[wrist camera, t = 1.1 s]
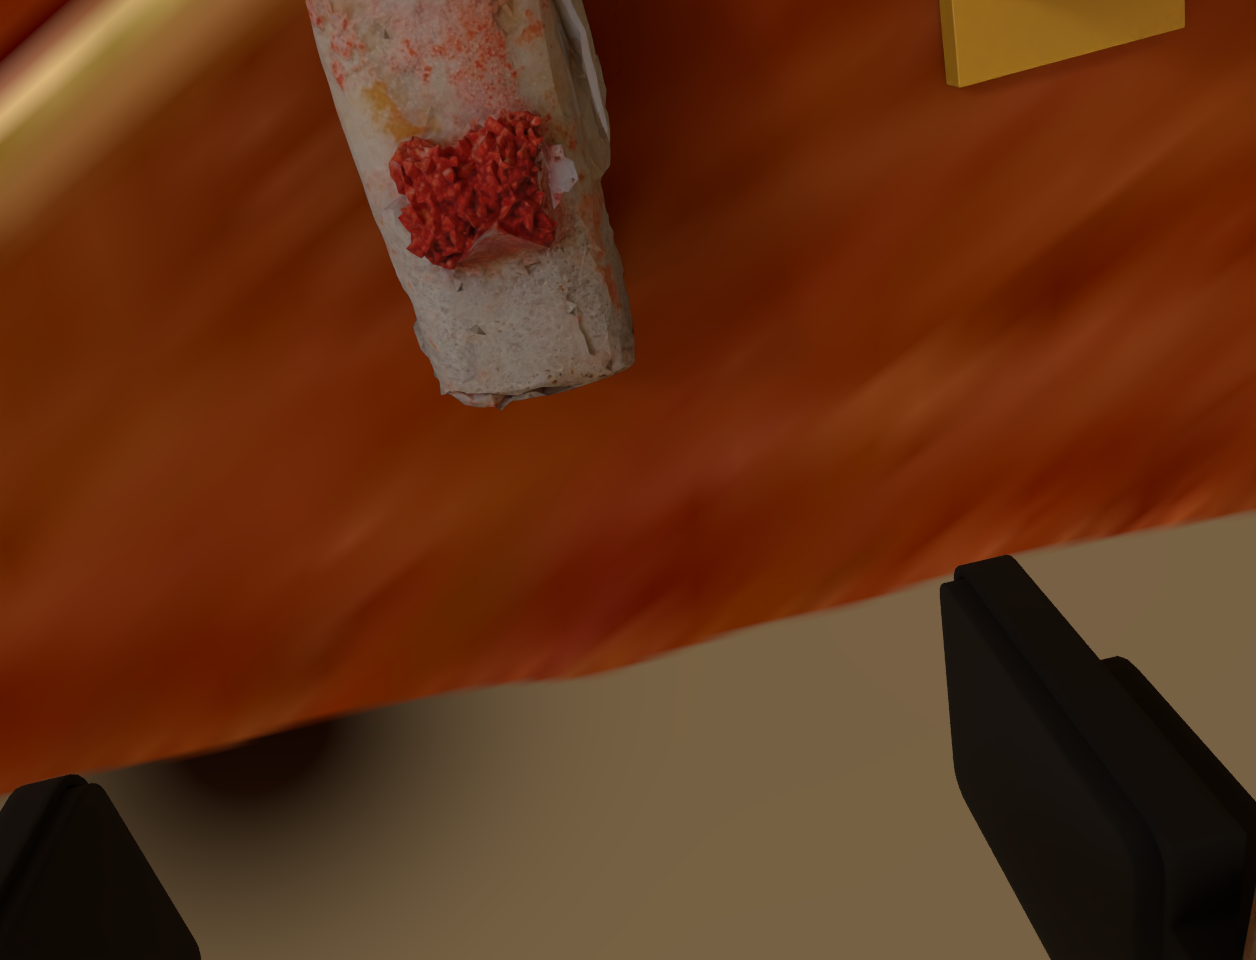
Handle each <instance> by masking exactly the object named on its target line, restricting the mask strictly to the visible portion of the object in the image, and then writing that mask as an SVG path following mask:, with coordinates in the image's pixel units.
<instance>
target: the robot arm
mask: <svg viewBox="0 0 1256 960" xmlns="http://www.w3.org/2000/svg"><path fill="white" fill-rule="evenodd" d="M940 603H941V615H942V628H943V639H944V651H945V663H946V676H947V688H948V700H949V713H950V724H951V737H952V749H953V761H954V769H955V774H956V778H957V782H958V785H959V788H960V791H961V793H962V796H963V798H964V800H965V802H966V804H967V806H968V807H969V809H970V811H971V813H972V815H973V817H974V819H975V820H976V822H977V824H978V826H979V828H980V830H981V831H982V833H983V835H984V837H985V839H986V841H987V842H988V844H989V846H990V848H991V850H992V852H993V854H994V856H995V857H996V859H997V861H998V863H999V865H1000V867H1001V868H1002V870H1003V872H1004V874H1005V876H1006V878H1007V880H1008V881H1009V883H1010V885H1011V887H1012V889H1013V891H1014V892H1015V894H1016V896H1017V898H1018V900H1019V902H1020V904H1021V905H1022V907H1023V909H1024V911H1025V913H1026V914H1027V916H1028V918H1029V920H1030V922H1031V924H1032V925H1033V928H1034V929H1035V931H1036V933H1037V935H1038V937H1039V939H1040V940H1041V942H1042V944H1043V946H1044V948H1045V949H1046V952H1047V953H1048V955H1049V957H1050V959H1051V960H1256V801H1255V800H1254V799H1253V798H1252V797H1251V796H1250V794H1249V793H1248V792H1247V791H1246V790H1245V789H1244V788H1243V787H1242V786H1241V784H1240V783H1239V782H1238V781H1237V780H1236V779H1235V778H1234V777H1233V775H1232V774H1231V773H1230V772H1229V771H1228V770H1227V769H1226V767H1225V766H1224V765H1223V764H1222V763H1221V762H1220V761H1219V760H1218V758H1217V757H1216V756H1215V755H1214V754H1213V753H1212V752H1211V751H1210V750H1209V748H1208V747H1207V746H1206V745H1205V744H1204V743H1203V742H1202V740H1201V739H1200V738H1199V737H1198V736H1197V735H1196V734H1195V733H1194V732H1193V731H1192V729H1191V728H1190V727H1189V726H1188V725H1187V724H1186V722H1185V721H1184V720H1183V719H1182V718H1181V717H1180V716H1179V715H1178V714H1177V712H1176V711H1175V710H1174V709H1173V708H1172V707H1171V706H1170V704H1169V703H1168V702H1167V701H1166V700H1165V699H1164V698H1163V697H1162V695H1161V694H1160V693H1159V692H1158V691H1157V690H1156V689H1155V688H1154V686H1153V685H1152V684H1151V683H1150V682H1149V681H1148V680H1147V679H1146V678H1145V676H1144V675H1143V674H1142V673H1141V672H1140V671H1139V670H1138V669H1137V668H1136V667H1135V666H1134V665H1133V664H1132V663H1131V662H1130V661H1128V660H1127V659H1125V658H1122V657H1119V656H1116V657H1112V658H1107V659H1103V660H1100V659H1099V658H1098V657H1097V656H1096V654H1095V653H1094V652H1093V651H1092V650H1091V649H1090V648H1089V646H1088V645H1087V644H1086V643H1085V641H1084V640H1083V639H1082V638H1081V637H1080V636H1079V634H1078V633H1077V632H1076V631H1075V630H1074V628H1073V627H1072V626H1071V625H1070V624H1069V622H1068V621H1067V620H1066V619H1065V618H1064V617H1063V616H1062V614H1061V613H1060V612H1059V611H1058V609H1057V608H1056V607H1055V606H1054V605H1053V604H1052V602H1051V601H1050V600H1049V599H1048V598H1047V596H1046V595H1045V594H1044V593H1043V592H1042V591H1041V590H1040V588H1039V587H1038V586H1037V585H1036V584H1035V582H1034V581H1033V580H1032V579H1031V578H1030V577H1029V575H1028V574H1027V573H1026V572H1025V571H1024V569H1023V568H1022V567H1021V566H1020V565H1019V564H1018V562H1017V561H1016V560H1015V559H1014V558H1013V557H1012V556H1010V555H1003V556H999V557H995V558H990V559H986V560H982V561H978V562H973V563H969V564H965V565H960V566H958V567H957V568H956V569H955V572H954V581H951V582H947V583H943V584H942V585H941V587H940ZM0 960H201V955H200V951H199V947H198V945H197V943H196V941H195V939H194V937H193V936H192V934H191V932H190V931H189V929H188V927H187V926H186V924H185V923H184V921H183V919H182V917H181V916H180V914H179V913H178V911H177V909H176V908H175V906H174V904H173V903H172V901H171V899H170V898H169V896H168V894H167V893H166V891H165V889H164V888H163V886H162V884H161V883H160V881H159V879H158V878H157V876H156V875H155V873H154V871H153V870H152V868H151V866H150V864H149V863H148V861H147V860H146V858H145V856H144V855H143V853H142V851H141V850H140V848H139V846H138V845H137V843H136V841H135V840H134V838H133V836H132V835H131V833H130V832H129V830H128V828H127V826H126V825H125V823H124V821H123V820H122V818H121V817H120V815H119V813H118V811H117V810H116V808H115V806H114V805H113V803H112V802H111V800H110V798H109V797H108V795H107V794H106V792H105V790H104V789H103V788H102V787H101V786H100V785H98V784H96V783H95V784H94V783H91V784H88V783H87V781H86V780H85V779H84V778H82V777H81V776H79V775H72V774H70V775H66V776H61V777H57V778H53V779H49V780H44V781H40V782H36V783H32V784H27V785H23V786H21V787H19V788H17V789H15V790H14V792H13V793H12V794H11V795H10V796H9V798H8V800H7V801H6V803H5V805H4V806H3V808H2V810H1V811H0Z"/></svg>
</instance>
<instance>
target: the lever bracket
mask: <svg viewBox="0 0 1256 960" xmlns="http://www.w3.org/2000/svg"><path fill="white" fill-rule="evenodd" d="M939 5H940V16H941V27H942V38H943V49H944V60H945V71H946V82H947V84H948V85H952V86H955V87H959V88H961V87H965V86H968V85H972V84H976V83H979V82H983V81H987V80H991V79H994V78H998V77H1002V76H1006V75H1009V74H1013V73H1017V72H1020V71H1024V70H1028V69H1032V68H1035V67H1039V66H1043V65H1047V64H1050V63H1054V62H1058V61H1061V60H1065V59H1069V58H1073V57H1076V56H1080V55H1084V54H1088V53H1091V52H1095V51H1099V50H1102V49H1106V48H1110V47H1114V46H1117V45H1121V44H1125V43H1129V42H1132V41H1136V40H1140V39H1143V38H1147V37H1151V36H1155V35H1158V34H1162V33H1166V32H1170V31H1173V30H1177V29H1181V28H1184V27H1185V0H939Z"/></svg>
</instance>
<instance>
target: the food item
mask: <svg viewBox="0 0 1256 960" xmlns="http://www.w3.org/2000/svg"><path fill="white" fill-rule="evenodd" d="M306 5H307V9H308V12H309V16H310V20H311V24H312V28H313V32H314V36H315V41H316V45H317V49H318V52H319V56H320V59H321V62H322V65H323V68H324V71H325V74H326V77H327V80H328V83H329V86H330V89H331V93H332V96H333V100H334V104H335V108H336V111H337V114H338V117H339V119H340V122H341V125H342V128H343V131H344V133H345V136H346V139H347V142H348V145H349V147H350V150H351V153H352V156H353V159H354V161H355V164H356V167H357V170H358V172H359V175H360V178H361V180H362V183H363V186H364V189H365V193H366V196H367V199H368V202H369V205H370V207H371V210H372V213H373V216H374V219H375V221H376V223H377V225H378V227H379V229H380V231H381V233H382V236H383V238H384V240H385V243H386V246H387V249H388V252H389V255H390V258H391V261H392V263H393V266H394V268H395V271H396V274H397V276H398V278H399V280H400V283H401V285H402V287H403V289H404V290H405V291H406V292H407V294H408V295H409V297H410V299H411V301H412V304H413V307H414V311H415V314H416V317H417V320H416V322H415V324H414V326H413V327H414V331H415V334H416V337H417V339H418V342H419V345H420V348H421V350H422V351H423V352H424V353H425V354H426V355H427V357H429V359H430V361H431V363H432V366H433V368H434V376H435V377H436V378H437V379H438V380H439V381H440V388H441V395H444V394H447V393H448V394H450V395H453V396H454V397H456V398H457V399H458V400H459V401H461V402H462V403H463V404H466V405H469V406H473V407H496V408H498V409H500V410H503V409H504V407H505V406H506V405H507V404H508V403H509V402H510V401H518V400H522V399H527V398H532V397H537V396H543V395H546V396H547V395H551V394H555V393H559V392H563V391H566V390H570V389H573V388H576V387H579V386H583V385H586V384H589V383H592V382H596V381H598V380H601V379H604V378H607V377H610V376H612V375H614V374H617V373H619V372H621V371H624V370H626V369H628V368H629V367H630V366H631V365H633V364H634V363H635V355H634V336H633V319H632V314H631V311H630V307H629V296H628V294H627V291H626V288H625V283H624V267H623V264H622V260H621V257H620V254H619V251H618V249H617V247H616V246H615V244H614V239H613V236H614V231H613V229H612V228H611V226H610V223H609V215H608V214H607V211H606V207H605V199H604V195H603V190H602V185H601V178H602V176H603V175H604V173H605V171H606V170H607V169H608V168H609V166H610V153H611V152H610V144H609V141H610V127H609V117H608V112H607V110H606V108H605V103H606V87H605V84H604V80H603V75H602V70H601V65H600V62H599V59H598V56H597V55H595V49H594V44H593V39H592V35H591V31H590V27H589V24H588V20H587V17H586V13H585V10H584V6H583V2H582V0H306Z"/></svg>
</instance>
